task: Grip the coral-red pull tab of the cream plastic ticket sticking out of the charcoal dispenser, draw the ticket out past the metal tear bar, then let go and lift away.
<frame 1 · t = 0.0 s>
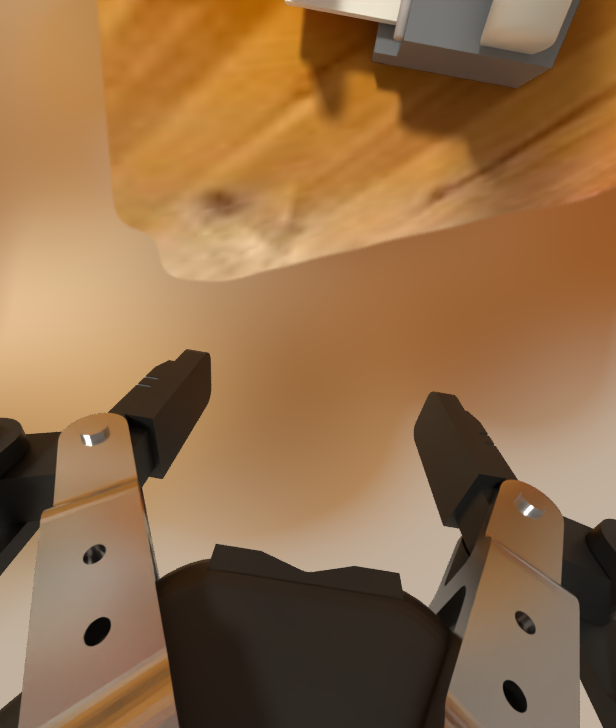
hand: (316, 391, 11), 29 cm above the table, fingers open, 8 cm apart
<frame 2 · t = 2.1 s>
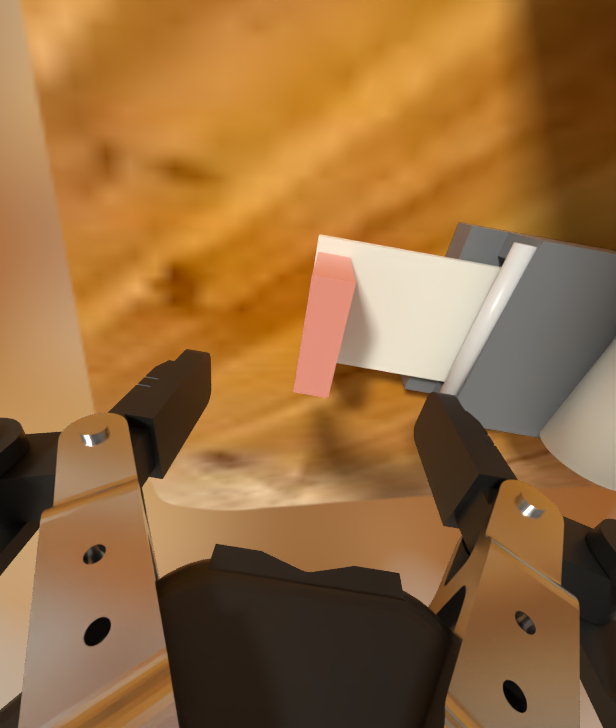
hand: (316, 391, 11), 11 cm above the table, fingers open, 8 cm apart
dispenser: (523, 326, 20), on the table
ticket: (485, 348, 16), point 5 cm above the table, slide at 0.0 cm
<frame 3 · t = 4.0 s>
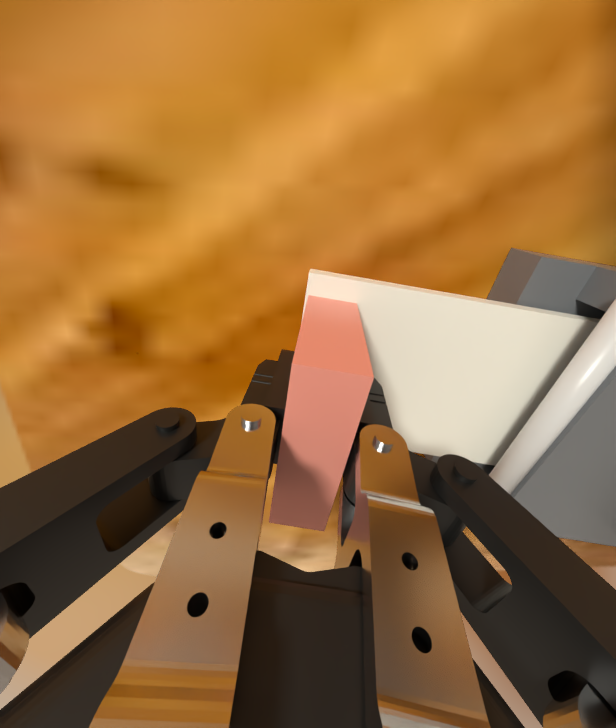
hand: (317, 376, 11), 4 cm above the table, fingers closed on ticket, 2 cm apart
dispenser: (590, 384, 15), on the table
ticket: (564, 442, 10), point 5 cm above the table, slide at 0.0 cm, touching gripper
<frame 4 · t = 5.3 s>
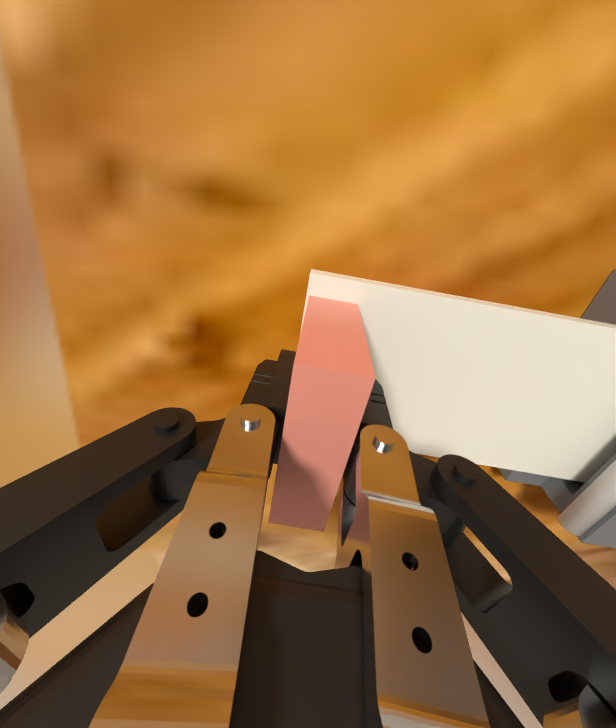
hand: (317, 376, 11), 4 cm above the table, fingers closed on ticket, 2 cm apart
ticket: (563, 443, 10), point 5 cm above the table, slide at 4.4 cm, touching gripper
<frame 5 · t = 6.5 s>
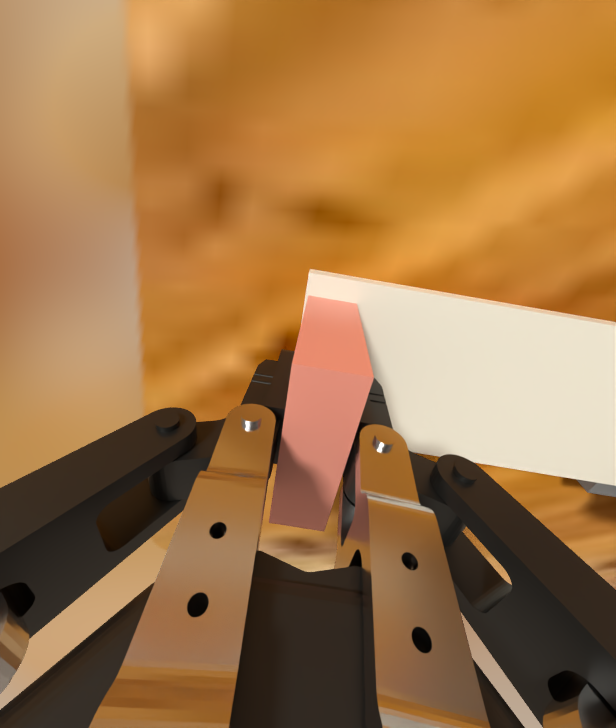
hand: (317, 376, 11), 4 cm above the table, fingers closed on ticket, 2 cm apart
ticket: (564, 442, 10), point 5 cm above the table, slide at 8.9 cm, touching gripper
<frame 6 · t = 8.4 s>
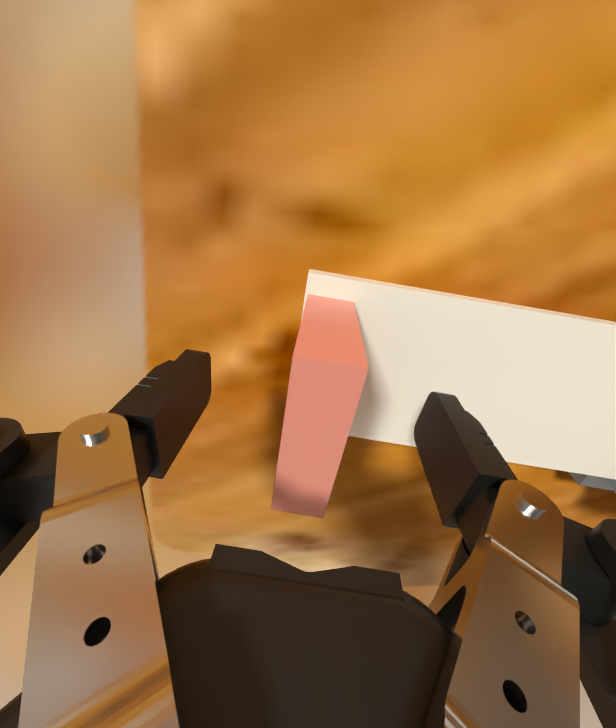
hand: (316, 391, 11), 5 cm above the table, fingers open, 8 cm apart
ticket: (551, 433, 11), point 5 cm above the table, slide at 8.9 cm
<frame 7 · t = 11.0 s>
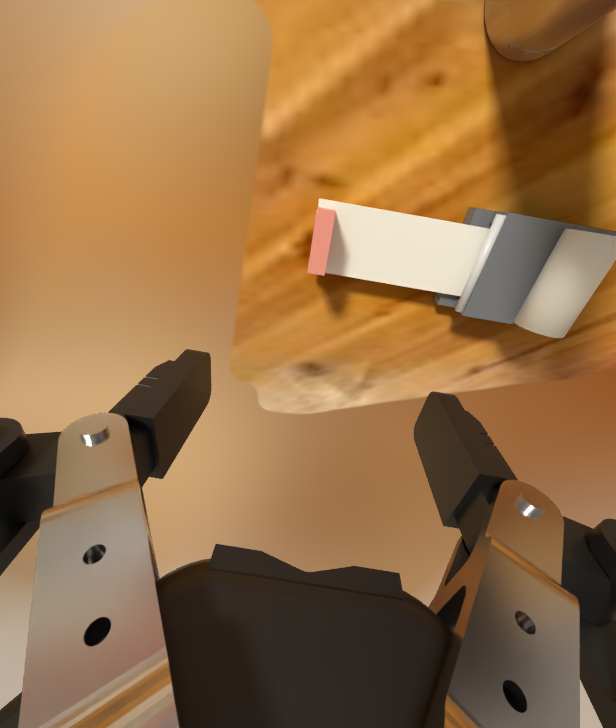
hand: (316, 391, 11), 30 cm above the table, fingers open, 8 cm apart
dispenser: (504, 266, 36), on the table
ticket: (403, 254, 31), point 5 cm above the table, slide at 8.9 cm
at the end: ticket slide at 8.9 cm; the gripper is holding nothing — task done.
